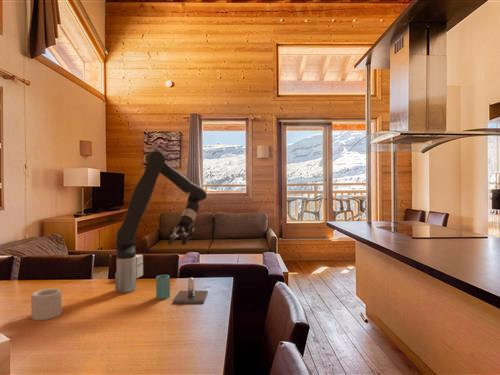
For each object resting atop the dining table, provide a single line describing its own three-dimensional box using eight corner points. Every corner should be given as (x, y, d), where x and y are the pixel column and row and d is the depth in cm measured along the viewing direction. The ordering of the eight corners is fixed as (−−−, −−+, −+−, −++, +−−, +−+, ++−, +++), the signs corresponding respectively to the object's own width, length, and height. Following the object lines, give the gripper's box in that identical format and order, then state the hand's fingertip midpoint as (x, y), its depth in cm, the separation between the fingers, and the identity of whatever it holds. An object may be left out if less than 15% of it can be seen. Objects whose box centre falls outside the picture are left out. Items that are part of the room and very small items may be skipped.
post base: (173, 303, 152) (172, 282, 152) (179, 293, 166) (179, 273, 166) (203, 303, 152) (203, 281, 152) (207, 293, 166) (207, 273, 166)
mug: (67, 312, 143) (67, 289, 143) (44, 322, 132) (44, 297, 132) (44, 309, 147) (43, 286, 147) (20, 318, 137) (19, 293, 137)
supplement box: (137, 278, 194) (136, 257, 194) (125, 278, 196) (125, 256, 196) (143, 275, 201) (143, 254, 201) (132, 274, 203) (132, 254, 203)
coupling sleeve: (153, 298, 160) (153, 277, 160) (161, 294, 165) (161, 274, 165) (164, 299, 157) (164, 278, 157) (172, 296, 163) (171, 275, 163)
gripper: (173, 215, 182) (161, 240, 172) (195, 214, 176) (183, 240, 166) (180, 223, 187) (168, 248, 177) (201, 222, 181) (190, 248, 171)
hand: (176, 244), depth 171 cm, fingers open, 8 cm apart
